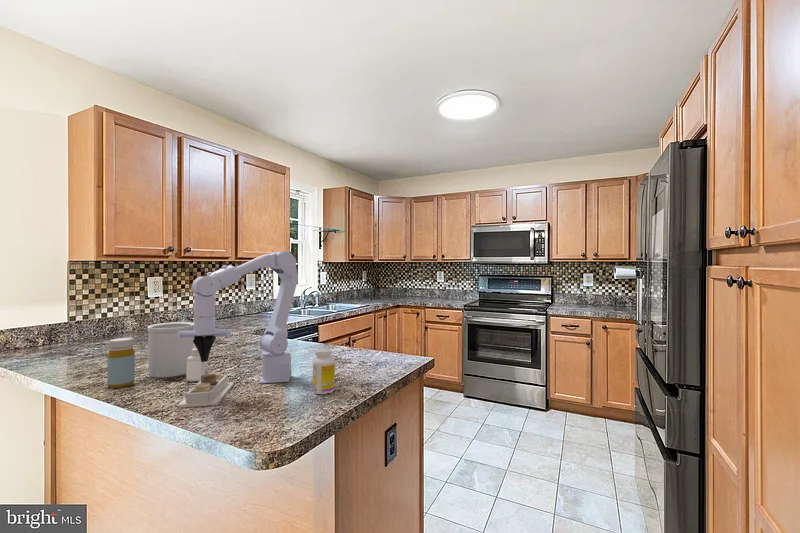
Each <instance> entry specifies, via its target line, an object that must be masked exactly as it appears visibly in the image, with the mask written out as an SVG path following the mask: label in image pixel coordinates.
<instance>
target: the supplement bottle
mask: <svg viewBox="0 0 800 533" xmlns="http://www.w3.org/2000/svg"><path fill="white" fill-rule="evenodd" d="M315 355H316V357H315V358H314V359H313V360H312V391H313V393H314V394H315V395H318V394H326V395H328V394H327V393H330V394H332V393H334V392H333V391H336V379H335V378H336V375H335V374H336V373H335V371H336V369H335V366H336V365H335V364H336V363H335V362H336V361H335V359H334V358H333V357H332V349H331V348H318V349H316V350H315ZM331 392H332V393H331Z"/></svg>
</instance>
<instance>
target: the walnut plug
mask: <svg viewBox="0 0 800 533" xmlns="http://www.w3.org/2000/svg"><path fill="white" fill-rule="evenodd" d="M201 383H210V386H211V385H216V374H209V373H205V375H202V376H201Z"/></svg>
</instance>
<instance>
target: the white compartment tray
mask: <svg viewBox="0 0 800 533" xmlns="http://www.w3.org/2000/svg"><path fill="white" fill-rule="evenodd" d="M199 383H201V381H197V383H196V384H199ZM234 383H235V382H234V381H233V382H232V381H231V382H229V375H228V374H221V380H216V385H211V386H210V391H209V392H197V393H194V386H193V387H192V388H190V389H189V390H188V391H187V392H185V398H183V399H182V400H181V401H180V402H179V403H178V404H177V408H178V409H179V408H192V407H206V406H207V407H208V406H218V405H219V404H220V403H221V401H222V400H223V399H224V398H225V397H226V395H227V394H228V393H229V391H230V390H231V389H232V388H233V387H234V385H235V384H234Z"/></svg>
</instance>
